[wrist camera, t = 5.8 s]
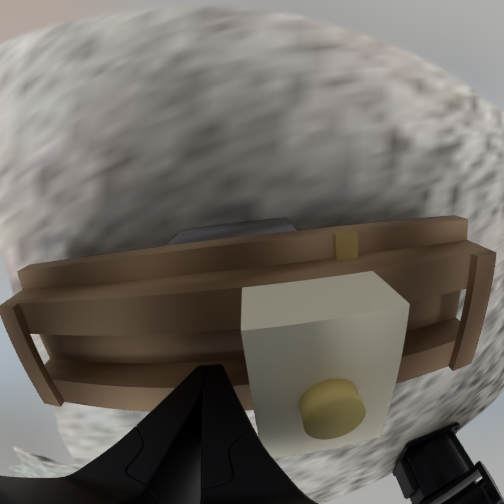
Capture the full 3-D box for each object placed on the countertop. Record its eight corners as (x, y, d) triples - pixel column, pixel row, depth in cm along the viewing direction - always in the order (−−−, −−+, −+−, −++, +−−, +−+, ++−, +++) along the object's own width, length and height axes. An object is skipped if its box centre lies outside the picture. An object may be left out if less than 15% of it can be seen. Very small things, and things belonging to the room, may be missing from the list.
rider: (355, 255, 10) (426, 319, 5) (349, 369, 11) (388, 453, 7) (242, 269, 10) (240, 351, 5) (258, 383, 11) (263, 477, 7)
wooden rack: (421, 205, 13) (498, 229, 8) (412, 320, 15) (465, 377, 10) (60, 248, 14) (-10, 287, 8) (94, 353, 16) (52, 415, 10)
